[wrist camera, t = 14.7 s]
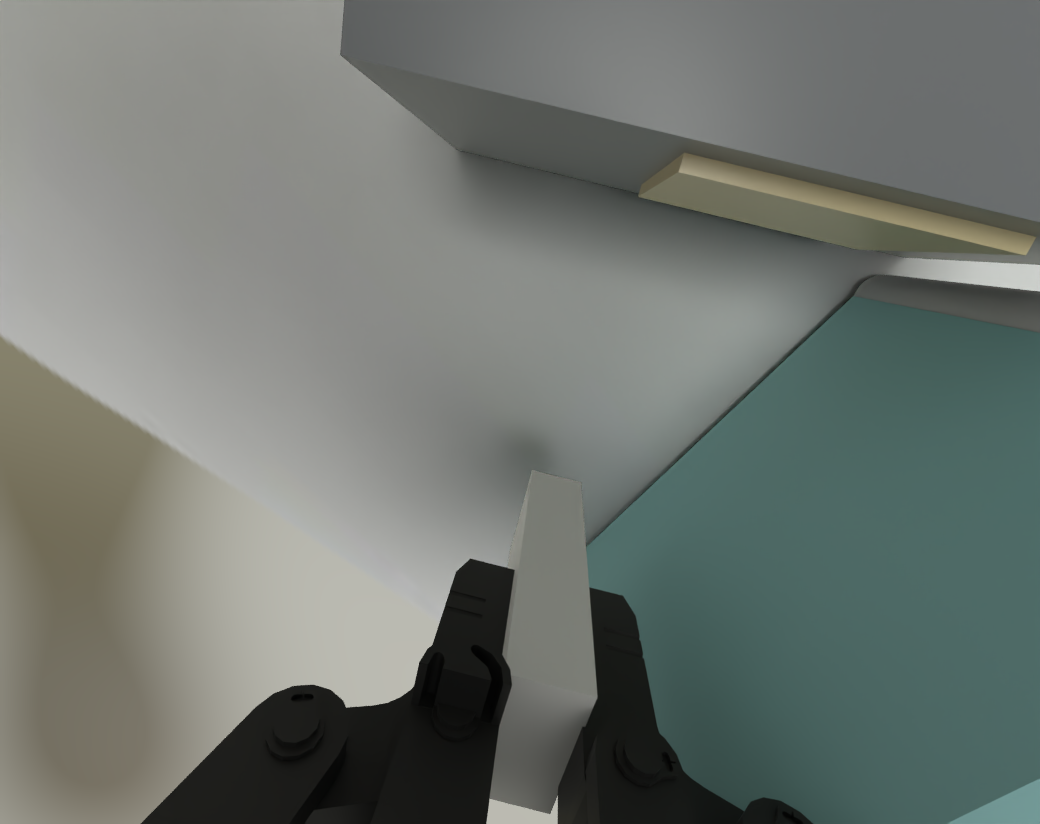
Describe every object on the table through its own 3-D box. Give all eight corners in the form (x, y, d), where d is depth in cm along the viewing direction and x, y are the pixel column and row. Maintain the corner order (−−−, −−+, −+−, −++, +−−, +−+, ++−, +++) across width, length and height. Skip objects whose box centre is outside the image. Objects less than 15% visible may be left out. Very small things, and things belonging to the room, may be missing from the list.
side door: (882, 264, 14) (2077, 359, 3) (915, 297, 15) (2149, 504, 3) (565, 563, 19) (561, 1042, 8) (594, 585, 19) (632, 1082, 8)
